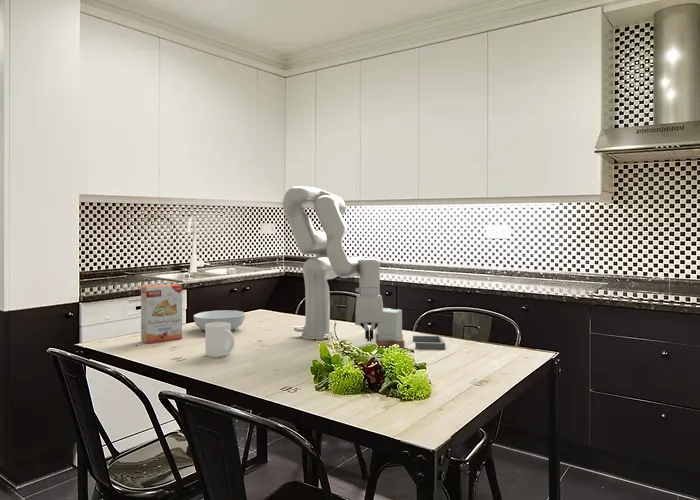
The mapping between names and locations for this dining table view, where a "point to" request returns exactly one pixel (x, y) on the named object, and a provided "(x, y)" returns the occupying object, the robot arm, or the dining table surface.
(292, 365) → the dining table surface
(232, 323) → the serving bowl
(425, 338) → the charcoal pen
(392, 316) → the supplement box
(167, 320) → the cracker box
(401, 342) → the walnut rails
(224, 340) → the mug
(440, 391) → the dining table surface
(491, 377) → the dining table surface
